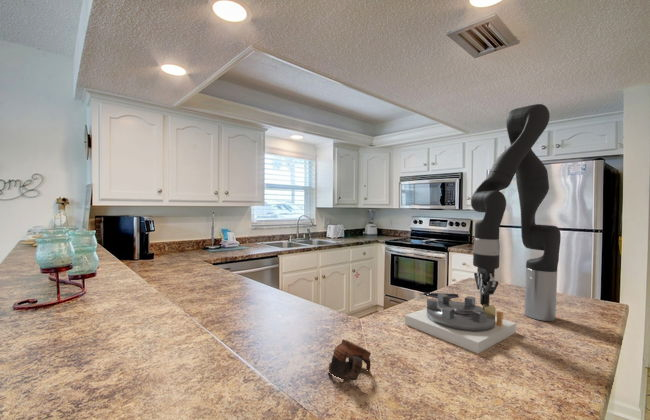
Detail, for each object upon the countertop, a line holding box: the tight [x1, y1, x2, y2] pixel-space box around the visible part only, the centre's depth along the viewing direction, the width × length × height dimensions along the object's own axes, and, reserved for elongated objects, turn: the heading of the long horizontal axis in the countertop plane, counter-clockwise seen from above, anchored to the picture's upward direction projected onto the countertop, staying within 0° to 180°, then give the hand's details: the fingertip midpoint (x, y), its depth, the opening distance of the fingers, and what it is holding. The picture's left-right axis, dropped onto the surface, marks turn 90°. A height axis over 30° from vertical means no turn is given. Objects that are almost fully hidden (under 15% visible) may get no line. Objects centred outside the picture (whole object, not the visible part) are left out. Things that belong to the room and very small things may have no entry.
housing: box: [404, 307, 517, 354], centre depth 98 cm, size 24×24×7 cm
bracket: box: [422, 292, 459, 301], centre depth 127 cm, size 14×15×3 cm
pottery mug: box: [328, 339, 372, 382], centre depth 70 cm, size 12×10×8 cm
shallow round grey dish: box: [426, 293, 497, 331], centre depth 98 cm, size 20×20×5 cm
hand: (484, 305), depth 99 cm, fingers closed
